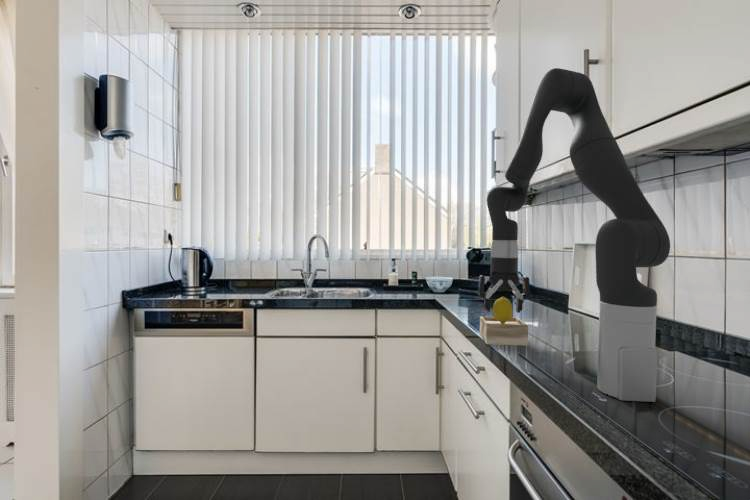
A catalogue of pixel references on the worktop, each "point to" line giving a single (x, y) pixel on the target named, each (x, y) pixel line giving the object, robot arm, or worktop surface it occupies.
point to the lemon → (502, 310)
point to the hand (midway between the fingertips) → (503, 311)
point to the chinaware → (439, 283)
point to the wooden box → (504, 331)
